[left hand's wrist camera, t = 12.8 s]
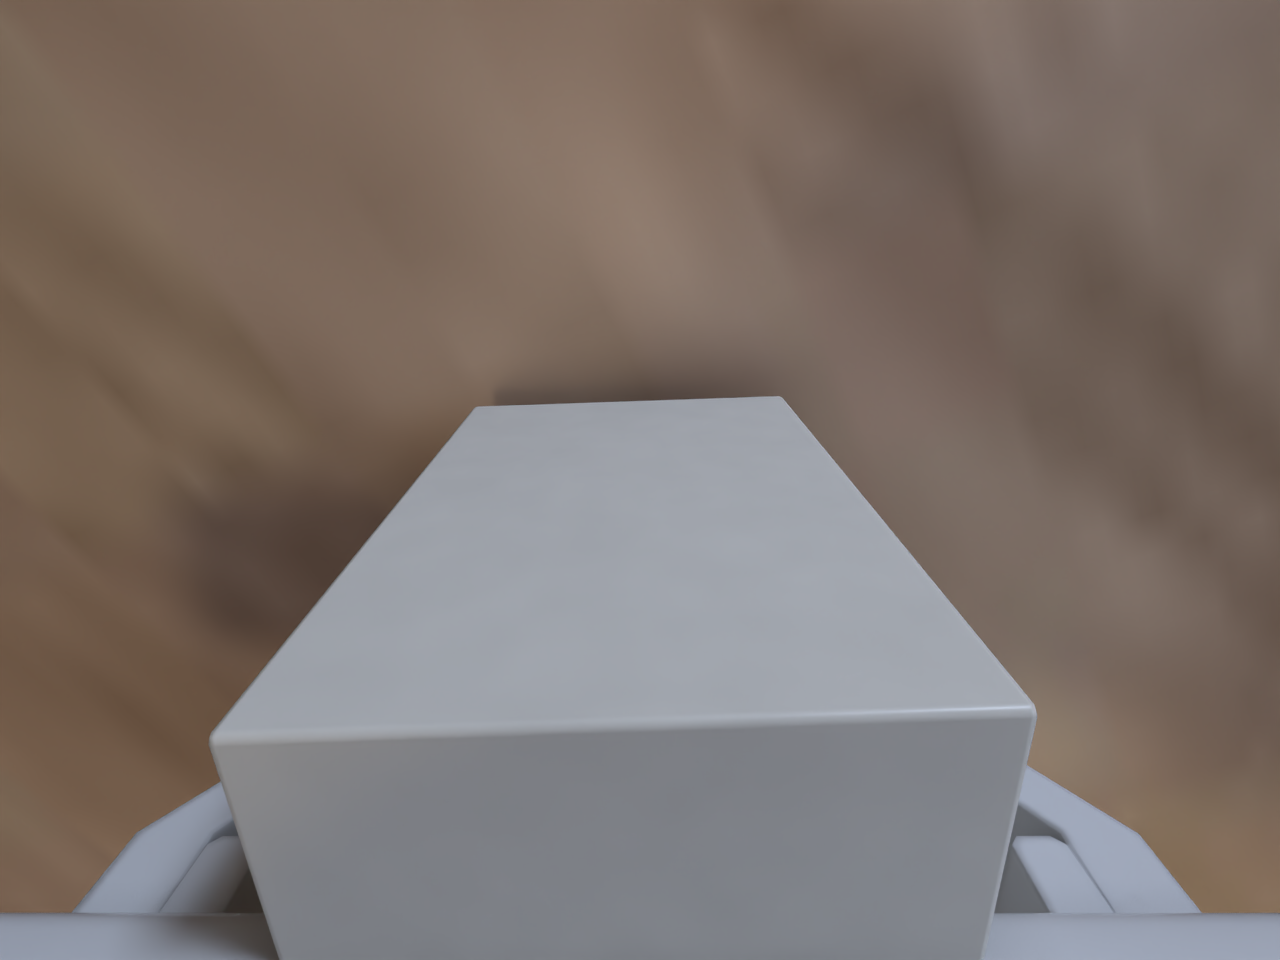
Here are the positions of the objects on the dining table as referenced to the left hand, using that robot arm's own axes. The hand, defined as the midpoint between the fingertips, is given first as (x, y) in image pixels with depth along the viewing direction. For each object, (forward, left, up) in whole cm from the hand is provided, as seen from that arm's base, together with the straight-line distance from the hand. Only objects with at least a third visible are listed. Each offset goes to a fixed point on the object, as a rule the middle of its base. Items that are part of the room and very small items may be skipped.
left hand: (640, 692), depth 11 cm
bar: (+7, +4, -3) cm, 8 cm away
